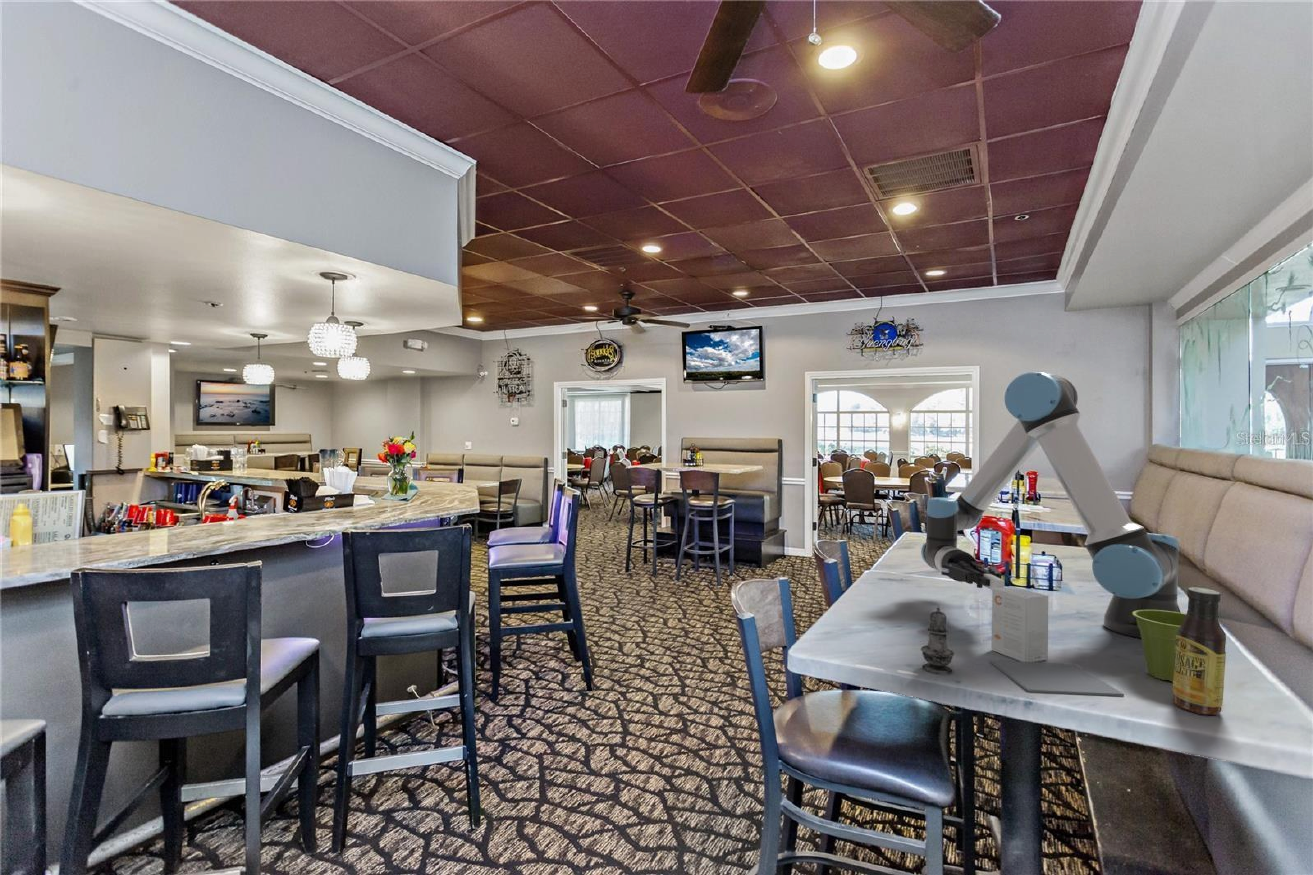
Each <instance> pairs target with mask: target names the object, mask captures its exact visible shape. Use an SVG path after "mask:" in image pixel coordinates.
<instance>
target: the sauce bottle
mask: <svg viewBox="0 0 1313 875" xmlns="http://www.w3.org/2000/svg"><path fill="white" fill-rule="evenodd" d="M1186 596H1187V598H1188V599H1187V600H1188V601H1187V602H1188V603H1187V610H1186V613H1185V614H1186V616H1185V618H1184V620H1183V622H1182V624H1181V626H1180V629H1179V631H1178V633H1177V635H1176V646H1175V660H1174V676H1173V682H1172V701H1173V703H1174V704H1175V705H1176V706H1177V707H1180V709H1184V710H1187V711H1189V712H1191V713H1194V714H1198V715H1206V716H1216V715H1217V716H1218V715H1219V714H1220V713H1221V712H1222V706H1223V702H1224V700H1223V699H1224V688H1225V686H1224V684H1225V672H1226V670H1225V669H1226V659H1227V658H1226V656H1227V655H1226V654H1227V651H1226V644H1227V636H1226V635H1227V634H1226V632H1225V631H1224V629H1223V628H1222V626H1221V625H1220V624H1221V623H1219V617H1220V616H1219V615H1218V613H1219V603H1220V601H1221V592H1219V591H1216V590H1214V589H1210V588H1203V587H1195V586H1194V587H1188V588H1187V595H1186Z"/></svg>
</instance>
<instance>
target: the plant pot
mask: <svg viewBox="0 0 1313 875" xmlns="http://www.w3.org/2000/svg"><path fill="white" fill-rule="evenodd" d="M1132 614H1133V615H1134V616H1135V617H1136V620H1137V624H1138V628H1139V629H1140V633H1141V638H1140V639H1141V643H1142V650H1143V654H1144V658H1145V659H1144V660H1145V664H1146V669H1147V674H1149V676H1152V677H1154V678H1156V679H1157V678H1159V679H1158V680H1160V679H1162V680H1161V681H1165V680H1166V681H1167V680H1168V681H1170V682H1172V683H1173V676H1174V660H1175V646H1176V635H1177V633H1178V631H1179V629H1180V626H1181V624H1182V622H1183V620H1184V618H1185V616H1186V614H1187V613H1184V612H1181V613H1178V612H1172V611H1163V610H1137V611H1133V613H1132Z"/></svg>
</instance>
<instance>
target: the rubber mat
mask: <svg viewBox="0 0 1313 875" xmlns="http://www.w3.org/2000/svg"><path fill="white" fill-rule="evenodd" d="M989 663H990V664H992V666H994V667H996V668H997V669H998V670H999V671H1000V672H1001V673H1003V674H1004V675H1005V676H1006V677H1008V678H1009V679H1010V680H1012V681H1013V682H1015V683H1016V684H1017V685H1018V686H1020V688H1022V689H1023V690H1024V691H1026V692H1027V693H1042V694H1044V693H1045V694H1047V693H1048V694H1065V695H1067V694H1068V695H1086V696H1087V695H1088V696H1089V695H1091V696H1108V697H1110V696H1112V697H1125V693H1123V692H1122V691H1120V690H1119V689H1117V688H1115V687H1113V686H1111V685H1110V684H1109V683H1107V682H1105V681H1104V680H1102V679H1100V678H1098V677H1097V676H1096V675H1094V674H1092V673H1090V672H1089V671H1087V670H1085V669H1084V668H1083V667H1081V666H1079V665H1077V664H1075V663H1063V662H1059V663H1058V662H1042V661H1037V662H1021V661H1019V660H1017V661H1013V660H992V659H991V660H989Z"/></svg>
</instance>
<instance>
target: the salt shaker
mask: <svg viewBox="0 0 1313 875" xmlns="http://www.w3.org/2000/svg"><path fill="white" fill-rule="evenodd" d="M927 631H928V635H929V636H928V643H927V645H923V646H921V647H920V651H922V654H921V655H922V656H923V659H924V660H925V661H926V663H924V664H922V666H921V668H922V669H923V670H924V671H926V672H928V673H931V674H935V675H943V676H947V675H951V674H953V672H954V671H953V669H952V668H950V667H949V666H948V665H950V663H951V662H952V660H953V658H954V656H955V651H954V650H953V649H950V648H948V643H947V637H948V636H947V634H949V631H948V630H947V615H946V613H944V612H942V611H941V608H940V606H937V607H936V609H935V611H931V612H930V614H929V627H928V628H927Z"/></svg>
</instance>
